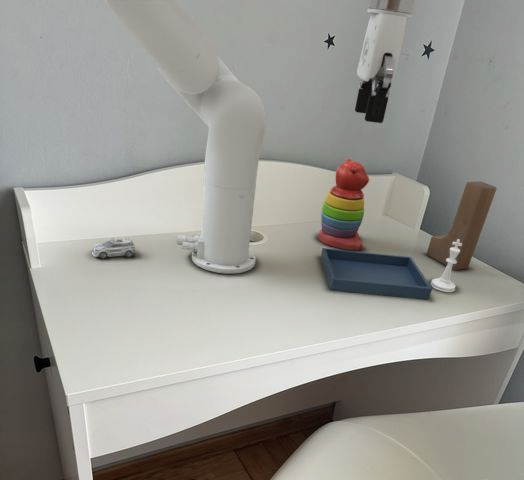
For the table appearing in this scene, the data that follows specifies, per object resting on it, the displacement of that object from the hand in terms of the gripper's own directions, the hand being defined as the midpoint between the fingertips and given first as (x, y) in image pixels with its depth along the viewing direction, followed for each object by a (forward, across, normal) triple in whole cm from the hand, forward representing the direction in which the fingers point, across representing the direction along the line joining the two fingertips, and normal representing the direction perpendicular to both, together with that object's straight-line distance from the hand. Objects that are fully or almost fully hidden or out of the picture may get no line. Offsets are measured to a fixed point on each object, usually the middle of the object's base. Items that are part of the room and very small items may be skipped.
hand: (367, 117), depth 94 cm
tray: (+28, +7, +6) cm, 30 cm away
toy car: (+28, +8, -45) cm, 54 cm away
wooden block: (+28, -6, +26) cm, 39 cm away
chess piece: (+28, +8, +20) cm, 36 cm away
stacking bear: (+28, -12, +2) cm, 31 cm away
